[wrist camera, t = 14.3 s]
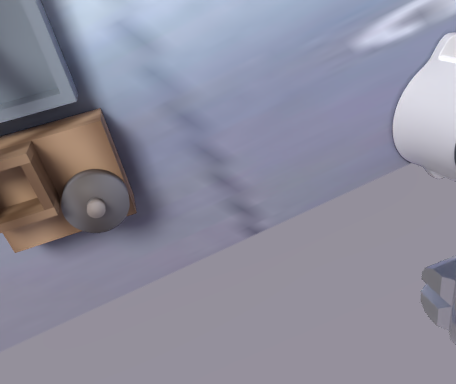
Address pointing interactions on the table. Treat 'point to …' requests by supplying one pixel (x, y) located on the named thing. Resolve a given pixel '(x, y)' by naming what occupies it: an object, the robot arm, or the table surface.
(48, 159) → the wooden holder block
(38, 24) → the tray
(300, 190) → the table surface
